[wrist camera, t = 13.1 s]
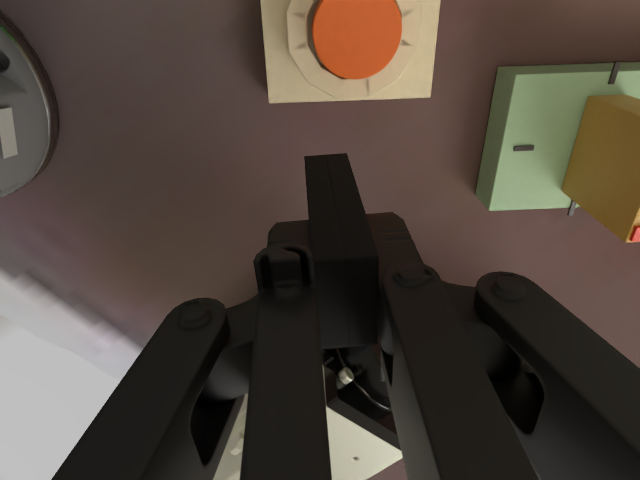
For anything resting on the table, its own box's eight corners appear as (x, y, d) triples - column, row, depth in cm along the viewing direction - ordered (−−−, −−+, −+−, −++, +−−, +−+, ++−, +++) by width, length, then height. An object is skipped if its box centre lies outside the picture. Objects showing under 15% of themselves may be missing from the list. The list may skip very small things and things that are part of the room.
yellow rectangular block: (587, 95, 29) (674, 130, 22) (626, 94, 29) (723, 127, 22) (560, 191, 32) (627, 245, 26) (594, 189, 33) (670, 243, 26)
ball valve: (330, 220, 36) (353, 392, 21) (396, 275, 40) (457, 458, 24) (203, 338, 43) (151, 537, 27) (269, 377, 46) (255, 574, 31)
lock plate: (473, 201, 36) (487, 219, 33) (499, 57, 30) (518, 65, 28) (626, 194, 36) (652, 212, 34) (680, 51, 31) (717, 58, 28)
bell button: (312, 74, 27) (313, 81, 25) (309, -19, 24) (310, -19, 23) (392, 71, 27) (399, 78, 25) (398, -22, 24) (405, -22, 23)
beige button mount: (270, 96, 31) (267, 110, 27) (258, -56, 26) (252, -62, 23) (422, 90, 31) (437, 104, 28) (437, -61, 27) (457, -67, 23)
